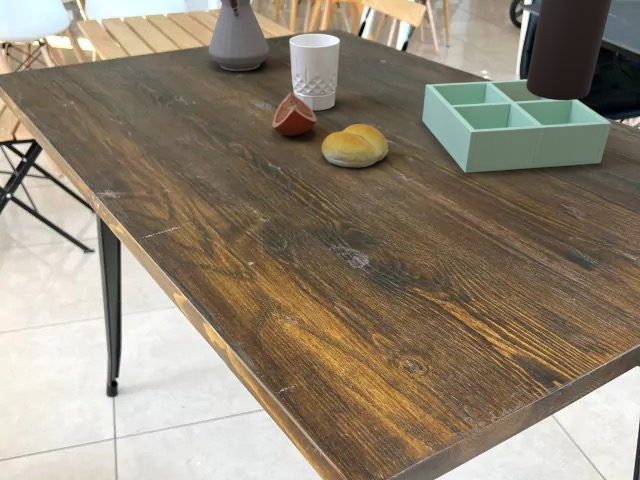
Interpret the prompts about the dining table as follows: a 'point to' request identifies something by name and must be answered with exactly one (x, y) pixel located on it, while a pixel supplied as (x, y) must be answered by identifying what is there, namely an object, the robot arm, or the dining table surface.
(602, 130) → the green compartment tray
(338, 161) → the bread roll
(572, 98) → the vinegar
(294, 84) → the white cup
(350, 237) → the dining table surface
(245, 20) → the coffee pot
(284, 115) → the fruit slice
